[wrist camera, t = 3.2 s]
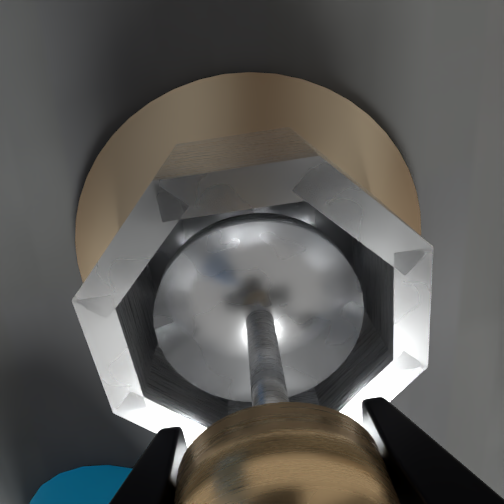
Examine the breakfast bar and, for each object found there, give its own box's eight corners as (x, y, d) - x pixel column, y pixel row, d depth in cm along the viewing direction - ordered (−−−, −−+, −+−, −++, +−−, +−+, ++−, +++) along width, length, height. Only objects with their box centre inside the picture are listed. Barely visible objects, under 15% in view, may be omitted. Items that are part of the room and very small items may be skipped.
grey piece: (368, 114, 14) (438, 137, 9) (374, 396, 19) (421, 500, 14) (97, 155, 14) (34, 198, 9) (175, 425, 19) (159, 538, 14)
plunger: (352, 197, 11) (531, 382, 5) (359, 370, 14) (482, 652, 7) (135, 230, 11) (4, 460, 5) (180, 396, 14) (137, 702, 7)
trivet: (420, 44, 14) (427, 43, 13) (412, 360, 19) (416, 368, 18) (27, 103, 14) (21, 105, 13) (129, 402, 19) (127, 410, 18)
